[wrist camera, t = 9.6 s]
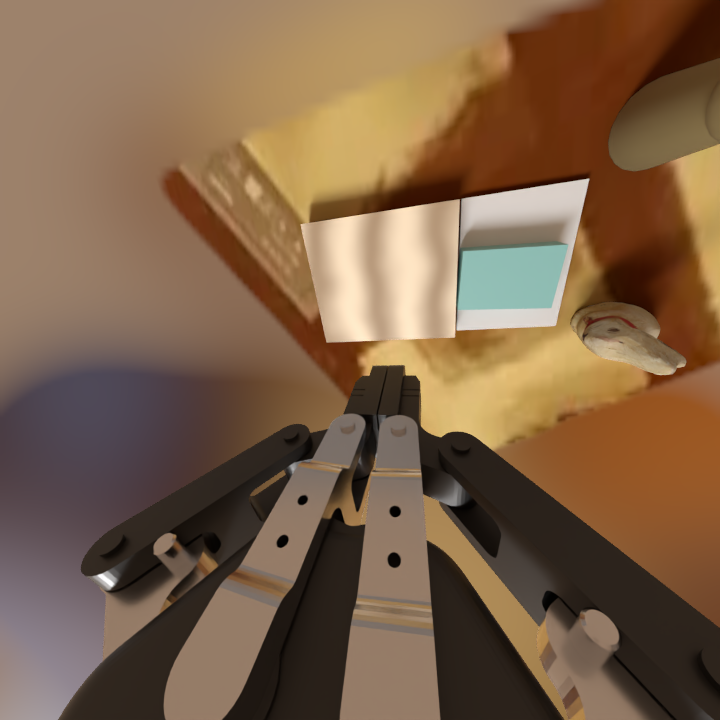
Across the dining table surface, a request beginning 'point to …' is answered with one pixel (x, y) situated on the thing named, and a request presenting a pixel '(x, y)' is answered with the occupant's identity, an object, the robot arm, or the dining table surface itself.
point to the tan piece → (625, 336)
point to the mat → (521, 240)
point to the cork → (668, 119)
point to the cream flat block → (386, 273)
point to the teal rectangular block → (509, 276)
